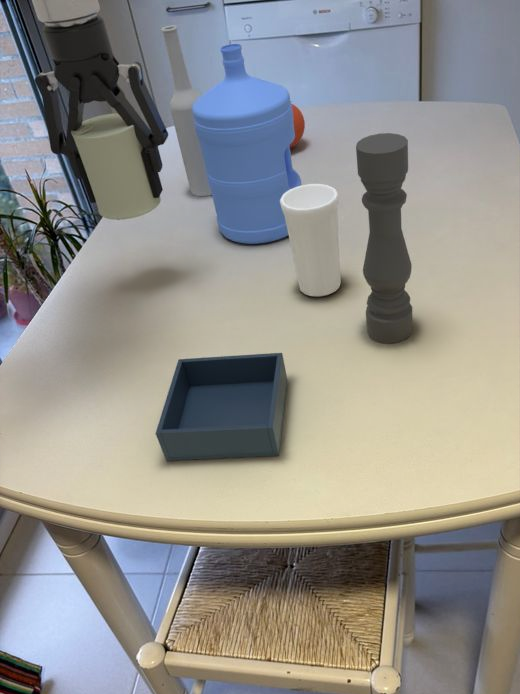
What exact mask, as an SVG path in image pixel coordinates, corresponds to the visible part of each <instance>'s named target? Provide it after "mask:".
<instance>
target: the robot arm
mask: <svg viewBox="0 0 520 694" xmlns="http://www.w3.org/2000/svg"><path fill="white" fill-rule="evenodd" d="M31 2H32V5H33V8H34V11H35V14H36V17H37V20H38V21H39V22H41V23H43V24H44V25H43V26H42V29H41V31H42V34H43V37H44V39H45V43H46V45H47V49H48V51H49V54H50V58H51V59H52V61H53V65H54V66H53V67H54V68H53V70H52V71H46V70H43V71H41V72H40V73H39V74H38V75H36V77H34V83H35V85H36V87H37V89H38V91H39V93H40V95H41V98H42V105H43V110H44V111H43V112H44V117H45V122H46V128H47V129H46V130H47V135H48V139H49V140H48V141H49V146H50V147H49V148H50V150H51V152H52V154H54V155H59V154H60V155H64V156H66V157H67V158H68V161H69V164H70V167H71V169H72V172H73V174H74V177H75V178H76V179H77V180H81V181H82V183H83V186H84V189H85V192H86V195H87V198H88V200H89V203H90V204H95V203H96V200H95V197H94V194H93V191H92V188H91V185H90V182H89V179H88V176H87V174H86V171H85V168H84V165H83V162H82V159H81V157H80V154H79V151H78V148H77V146H76V143H75V140H74V138H73V136H72V134H71V131H77V130H78V129H79V127H80V126H81V125H82V121H83V119H84V109H85V104H90V103H92V102H94V101H95V102H100V103H102V102H106V103H107V105H109V106H110V108H112V109H114V111H116V113H118V114H119V115H120V117H121V118H122V119H123V120H124V122H125V123H126V124H127V126H132V125H133V126H134V130H135V134H136V137H137V138H138V140H139V141H140V142H141V143H142V145H143V146H144V149H143V150H142V152H141V155H142V159H143V162H144V166H145V169H146V173H147V176H148V180H149V183H150V187H151V190H152V194H153V197H154V198H159V196H160V197H161V194H162V192H163V190H164V189H163V185H162V181H161V178H160V175H159V173H161V171H162V169H163V166H164V165H163V162H162V161H163V160H162V158H161V157H162V156H161V154H160V150H159V146H163V145H164V144H165V143H166V142H167V139H168V137H169V132H168V129H167V128H166V125H165V123H164V121H163V119H162V116H161V115H160V113H159V110H158V108H157V106H156V104H155V102H154V100H153V97H152V95H151V93H150V90H149V89H148V87H147V85H146V83H145V79H144V71H143V66H142V64H141V63H140V62H139V61H134V62H132V64H130V63H129V64H128V63H120V62H119V61H118V60H117V58H116V57H115V55H114V53H113V48H112V45H111V42H110V41H111V40H110V37H109V34H108V30H107V26H106V23H105V21H104V18H103V17H102V16H101V15H100V14H98V13H99V12H100V9H101V7H100V4H99V3H100V2H99V0H31ZM120 76H122V77H123V79H124V81H125V82H126V83H127V84H128V85H130V90H131V93H132V94H133V97H134V98H135V100H136V103H137V104H138V106H139V109H140V111H141V113H142V115H143V117H144V119H145V121H144V119H142V117H141V115H140V114H139V113H138V112H137V110H136V109H135V108H134V107H133V105H132V104H131V103H130V101H129V100H128V99H127V97H126V94H125V93H124V91H123V90H122V88H121V87H120V85H119V84H118V81H119V78H120ZM59 84H60V85H62V87H63V88H65V90H67V91H68V92H69V95H68V117H67V128H66V137H65V133H64V126H63V121H62V114H61V106H60V99H59V94H58V88H59ZM146 123H147V124H146ZM96 204H97V203H96Z"/></svg>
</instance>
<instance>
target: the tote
mask: <svg viewBox="0 0 520 694" xmlns="http://www.w3.org/2000/svg"><path fill="white" fill-rule="evenodd" d="M174 369H175V370H174V372H173V376H172V379H171V382H170V385H169V388H168V390H167V391H168V392H167V395H166V397H165V402H164V404H163V408H162V411H161V414H160V417H159V421H158V424H157V427H156V431H155V433H154V434H155V436H156V439H157V441H158V443H159V446H160V449H161V452H162V454H163V456H164V459H165V461H166V462H167V461H168V462H169V461H170V462H171V461H173V462H174V461H191V460H212V459H213V460H214V459H215V460H217V459H235V458H256V457H257V458H258V457H278V456H280V449H281V442H282V441H281V440H282V431H283V424H284V423H283V422H284V413H285V407H286V397H287V388H288V376H287V370H286V365H285V360H284V354H283V352H270V353H256V354H255V353H254V354H241V355H240V354H239V355H222V356H208V357H195V358H194V357H192V358H179V359H178V360H177V362H176V366H175V368H174Z"/></svg>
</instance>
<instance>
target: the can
mask: <svg viewBox="0 0 520 694" xmlns="http://www.w3.org/2000/svg"><path fill="white" fill-rule="evenodd" d="M71 134H72V136H73V138H74V140H75V143H76V146H77V148H78V151H79V154H80V157H81V159H82V162H83V165H84V168H85V171H86V174H87V176H88V179H89V182H90V185H91V188H92V191H93V194H94V197H95V200H96V206H97V212H98V214H99V216H101V217H103V218H104V219H108V220H112V221H113V220H114V221H119V220H120V221H122V220H129V219H134V218H138V217H141V216H144V215H146V214H148V213H150V212H152V211H153V210H155V209H156V208H157V207H158V206H160V203H161V200H162V199H161V195H160V196H159V198H154V197H153V194H152V190H151V187H150V183H149V180H148V176H147V173H146V169H145V166H144V162H143V159H142V155H141V152H142V150H143V149H144V146H143V145H142V143H141V142H140V141H139V140H138V138H137V137H136V134H135V130H134V126H133V125H132V126H127V124H126V123H125V122H124V120H123V119H122V118H121V117H120V115H119V114H118V113H117V112H116V113H108V114H102V115H97V116H93V117H91V118H87V119H85V120H82V125H81V126H80V127H79V129H78V130H77V131H71Z"/></svg>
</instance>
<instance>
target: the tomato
mask: <svg viewBox="0 0 520 694" xmlns="http://www.w3.org/2000/svg"><path fill="white" fill-rule="evenodd" d="M290 102H291V104H292V110H293V119H294V120H293V124H294V132H295V138H294V140H293V142H292V143H291V144H290V145H289V146H290V149H291V148H293V147H295V146H296V145H297V144H298V143H299V142H300V141H301V139H303V137H304V133H305V128H306V122H305V117H304V115H303V112H302V111H301V109H300V108H298V107H297V106H296V105H295V104H293V103H292V102H293V100H290Z"/></svg>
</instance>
